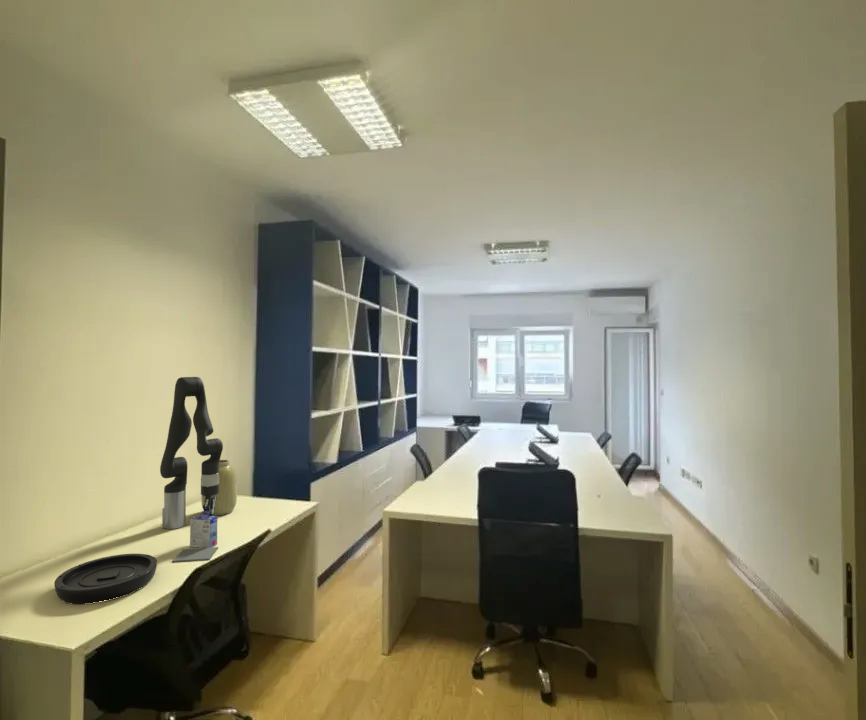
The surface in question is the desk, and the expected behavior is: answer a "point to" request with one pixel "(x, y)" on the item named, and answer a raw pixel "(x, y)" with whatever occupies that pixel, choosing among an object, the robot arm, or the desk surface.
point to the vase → (225, 489)
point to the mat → (195, 554)
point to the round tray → (105, 578)
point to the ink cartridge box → (203, 531)
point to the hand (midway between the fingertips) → (210, 521)
